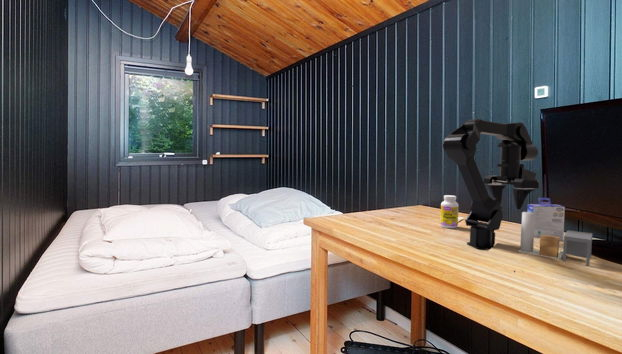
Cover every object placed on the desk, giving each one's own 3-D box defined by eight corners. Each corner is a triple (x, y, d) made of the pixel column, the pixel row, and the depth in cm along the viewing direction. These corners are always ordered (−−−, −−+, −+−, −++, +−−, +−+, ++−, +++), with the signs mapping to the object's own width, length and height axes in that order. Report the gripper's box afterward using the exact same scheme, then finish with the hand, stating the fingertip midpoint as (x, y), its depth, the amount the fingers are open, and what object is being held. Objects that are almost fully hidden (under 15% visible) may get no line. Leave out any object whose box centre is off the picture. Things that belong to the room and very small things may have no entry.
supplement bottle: (440, 227, 131) (441, 196, 130) (440, 224, 137) (441, 194, 136) (458, 229, 129) (459, 197, 128) (457, 226, 135) (458, 195, 134)
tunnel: (562, 265, 87) (564, 236, 86) (566, 257, 94) (567, 230, 93) (588, 270, 83) (590, 239, 83) (590, 261, 90) (592, 233, 89)
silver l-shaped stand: (517, 254, 95) (519, 213, 94) (521, 250, 100) (523, 210, 99) (560, 262, 88) (563, 218, 88) (563, 257, 93) (565, 215, 92)
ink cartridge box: (555, 238, 116) (558, 197, 115) (564, 242, 110) (567, 199, 109) (525, 236, 118) (527, 197, 117) (532, 240, 112) (534, 199, 111)
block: (539, 254, 92) (540, 237, 92) (541, 251, 95) (542, 234, 95) (556, 257, 90) (557, 239, 89) (558, 254, 93) (559, 237, 92)
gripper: (556, 161, 100) (553, 211, 101) (511, 160, 118) (509, 202, 119) (523, 161, 99) (521, 212, 100) (483, 160, 117) (481, 203, 118)
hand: (508, 207), depth 109 cm, fingers open, 9 cm apart
